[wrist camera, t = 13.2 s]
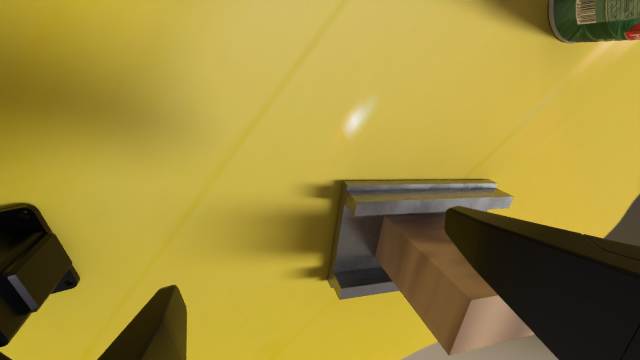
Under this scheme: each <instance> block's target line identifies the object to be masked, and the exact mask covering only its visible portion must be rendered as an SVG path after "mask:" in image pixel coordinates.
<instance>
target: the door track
mask: <svg viewBox="0 0 640 360" xmlns="http://www.w3.org/2000/svg"><path fill="white" fill-rule="evenodd" d="M496 185H497V183H495V182H493V181H491V180H489V179H485V180H354V181H343V184H342V190H341V197H340V203H339V210H338V216H337V223H336V229H335V236H334V242H333V249H332V255H331V262H330V268H329V275H328V282H329V285H330V287H331V288H334V289H335V292H336V294H337V296H338V298H339V300H341V299H348V298H354V297H361V296H367V295H374V294H380V293H387V292H394V291H400V290H399V289H398V288H397V286H396V285H395V284H394V282H393V281H392V280H391V278H390V277H389V276H388V274H387V273H386V272H385V270H384V269H383V268H382V266H381V265H380V264H379V262H378V261H377V260H376V258H375V254H376V250H377V245H378V241H379V237H380V232H381V228H382V223H383V219H384V215H400V214H422V213H444V212H446V210H447V209H448V208H450V207H454V206H463V207H467V208H471V209H476V210H480V211H485V212H487V210H488V209H503V208H509V207H510V205H511V202H512V200H513V196H511V195H509V194H507V193H505V192H503V191H501V190H499V189H497V188H496Z"/></svg>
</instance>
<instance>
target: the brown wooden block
mask: <svg viewBox="0 0 640 360" xmlns="http://www.w3.org/2000/svg"><path fill="white" fill-rule="evenodd" d="M445 214H446V212H444V213H422V214H400V215H384V219H383V223H382V228H381V232H380V237H379V241H378V245H377V250H376V254H375V258H376V260H377V261H378V262H379V264H380V265H381V266H382V268H383V269H384V270H385V272H386V273H387V274H388V276H389V277H390V278H391V280H392V281H393V282H394V284H395V285H396V286H397V288H398V289H399V290H400V292H401V293H402V294H403V295H404V297H405V298H406V299H407V301H408V302H409V303H410V305H411V306H412V307H413V309H414V310H415V311H416V313H417V314H418V315H419V317H420V318H421V319H422V321H423V322H424V323H425V325H426V326H427V327H428V329H429V330H430V331H431V332H432V334H433V335H434V336H435V338H436V339H437V340H438V342H439V343H440V344H441V346H442V347H443V348H444V350H445V351H446V352H447V354H448V355H449V356H450V355H454V354H458V353H461V352H466V351H470V350H474V349H478V348H482V347H486V346H490V345H494V344H498V343H502V342H506V341H510V340H514V339H518V338H522V337H526V336H530V335H534V333H533V332H532V331H531V330H530V329H529V328H528V326H527V325H526V324H525V323H524V322H523V321H522V320H521V319H520V318H519V317H518V316H517V315H516V314H515V313H514V312H513V310H512V309H511V308H510V307H509V306H508V305H507V304H506V303H505V302H504V301H503V300H502V299H501V298H500V297H499V296H498V295H497V293H496V292H495V291H494V290H493V289H492V288H491V287H490V286H489V285H488V284H487V283H486V282H485V281H484V280H483V279H482V278H481V276H480V275H479V274H478V273H477V272H476V271H475V270H474V269H473V268H472V266H471V265H470V264H469V263H468V261H467V260H466V259H465V258H464V256H463V255H462V254H461V252H460V251H459V250H458V249H457V247H456V246H455V245H454V243H453V242H452V241H451V240H450V238H449V237H448V236H447V234H446V233H445V230H444V224H445Z"/></svg>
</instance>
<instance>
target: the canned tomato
mask: <svg viewBox="0 0 640 360" xmlns="http://www.w3.org/2000/svg"><path fill="white" fill-rule="evenodd" d="M549 21H550V25H551V28H552V30H553V32H554V34H555V35H556V37H557V38H558V39H559V40H561V41H563V42H565V43H578V42H598V41H621V40H640V0H549Z"/></svg>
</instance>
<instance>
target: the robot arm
mask: <svg viewBox="0 0 640 360" xmlns="http://www.w3.org/2000/svg"><path fill="white" fill-rule="evenodd" d="M24 211H26V212H29V213H30V215H26V214H25V213H24ZM444 230H445V233H446V234H447V236H448V237H449V238H450V240H451V241H452V242H453V243H454V245H455V246H456V247H457V249H458V250H459V251H460V252H461V254H462V255H463V256H464V258H465V259H466V260H467V261H468V263H469V264H470V265H471V266H472V268H473V269H474V270H475V271H476V272H477V273H478V274H479V275H480V276H481V278H482V279H483V280H484V281H485V282H486V283H487V284H488V285H489V286H490V287H491V288H492V289H493V290H494V291H495V292H496V293H497V295H498V296H499V297H500V298H501V299H502V300H503V301H504V302H505V303H506V304H507V305H508V306H509V307H510V308H511V309H512V310H513V312H514V313H515V314H516V315H517V316H518V317H519V318H520V319H521V320H522V321H523V322H524V323H525V324H526V325H527V326H528V328H529V329H530V330H531V331H532V332H533V333H534V334H535V335H536V336H537V337H538V338H539V339H540V340H541V341H542V342H543V343H544V344H545V346H546V347H547V348H548V349H549V350H550V351H551V352H552V353H553V354H554V355H555V356H556V357H557V358H558V359H559V360H640V246H637V245H632V244H626V243H622V242H617V241H612V240H608V239H603V238H599V237H594V236H590V235H586V234H583V235H582V234H581V233H577V232H572V231H568V230H563V229H559V228H555V227H550V226H546V225H542V224H537V223H533V222H528V221H524V220H520V219H515V218H511V217H507V216H502V215H498V214H493V213H489V212H485V211H480V210H476V209H471V208H467V207H463V206H454V207H450V208H448V209H447V210H446V214H445V224H444ZM67 280H71V281H72V282H69V281H67ZM79 281H80V277H79V275H78V274H77V272H76V270H75V269H74V267H73V265H72V261H71V260H70V258H69V256H68V255H67V253H66V251H65V250H64V248H63V246H62V245H61V243H60V242H59V240H58V238H57V237H56V235H55V234H54V233H52V231H51V229H50V228H49V226H48V225H47V223H46V221H45V220H44V218H43V216H42V215H41V213H40V211H39V210H38V209H37V208H36V207H35V206H33V205H29V204H28V205H20V206H15V207H10V208H5V209H0V347H3V346H6V345H8V343H9V342H10V341H11V339H12V338H13V337H14V336H15V334H16V333H17V332H18V330H19V329H20V328H21V326H22V325H23V324H24V322H25V321H26V320H27V319H28V317H29V316H30V315H31V313H34V312H37V311H38V310H39V308H40V307H41V306H42V304H43V303H44V302H45V300H46V299H47V298H48V296H49V295H50V294H53V293H57V292H60V291H64V290H68V289H72V288H74V287H76V286H77V284H78V283H79ZM186 340H187V310H186V305H185V303H184V300H183V298H182V296H181V293H180V291H179V288H178V287H177V286H176V285H171V286H167V287H164V288H161V289H159V290H158V291H157V292H156V293H155V295H154V296H153V297H152V298H151V299H150V300H149V301H148V303H147V304H146V305H145V306H144V307H143V308H142V309H141V311H140V312H139V313H138V314H137V315H136V316H135V317H134V319H133V320H132V321H131V322H130V323H129V324H128V325H127V326H126V328H125V329H124V330H123V331H122V332H121V333H120V334H119V336H118V337H117V338H116V339H115V340H114V341H113V342H112V344H111V345H110V346H109V347H108V348H107V349H106V350H105V352H104V353H103V354H102V355H101V356H100V357H99V358H98V359H97V360H186ZM0 360H12V359H10V358H9V357H7V356H6V355H4V354H3V353H1V352H0Z"/></svg>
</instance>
